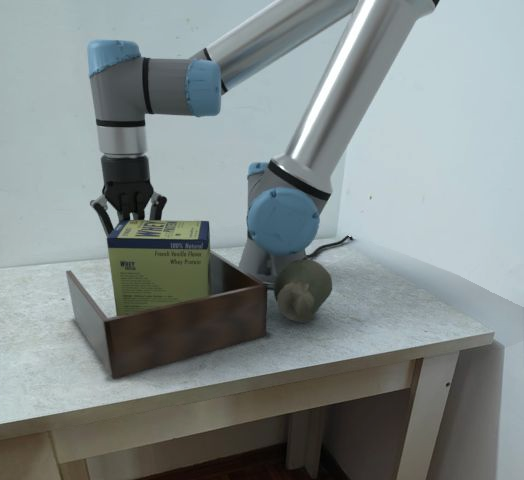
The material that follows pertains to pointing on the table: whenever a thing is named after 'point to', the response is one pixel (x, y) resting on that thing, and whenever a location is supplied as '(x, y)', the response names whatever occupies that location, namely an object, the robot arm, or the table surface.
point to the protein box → (158, 263)
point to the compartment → (175, 322)
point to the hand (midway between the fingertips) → (139, 289)
